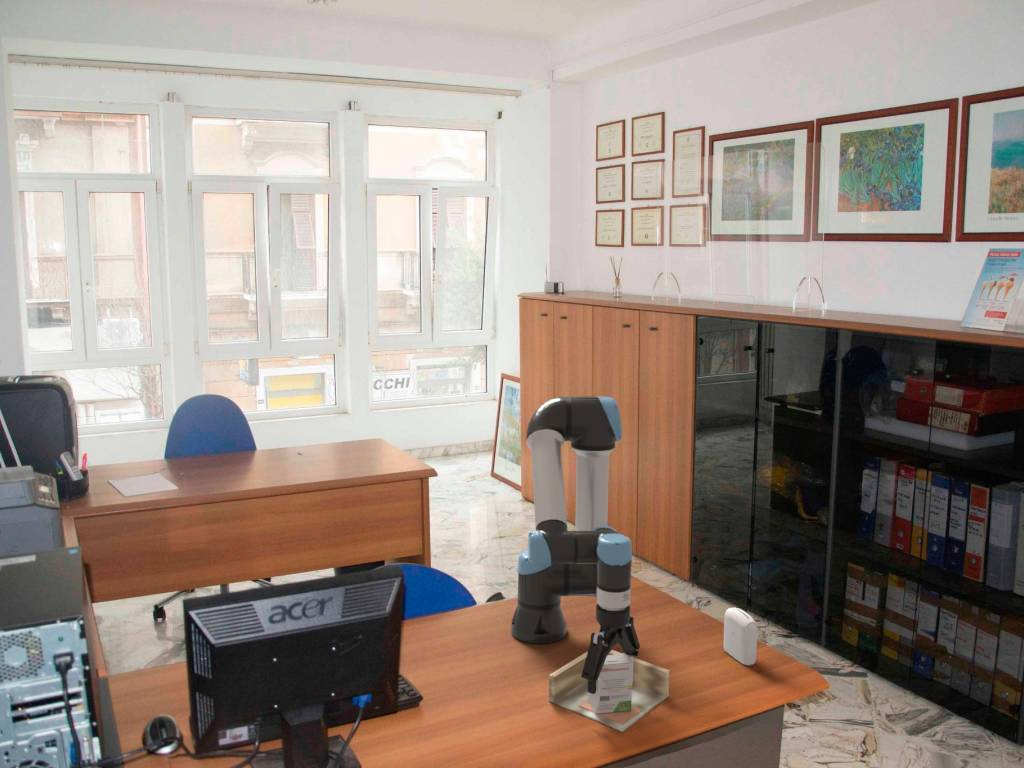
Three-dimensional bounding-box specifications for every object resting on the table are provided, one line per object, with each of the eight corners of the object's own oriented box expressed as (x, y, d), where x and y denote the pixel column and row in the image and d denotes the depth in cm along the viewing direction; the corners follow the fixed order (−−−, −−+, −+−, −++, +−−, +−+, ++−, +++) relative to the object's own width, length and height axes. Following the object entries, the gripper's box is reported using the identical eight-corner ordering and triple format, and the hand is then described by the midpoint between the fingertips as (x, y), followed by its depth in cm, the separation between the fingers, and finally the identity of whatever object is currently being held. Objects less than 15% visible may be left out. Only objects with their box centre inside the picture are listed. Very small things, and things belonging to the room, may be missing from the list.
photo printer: (720, 649, 228) (722, 604, 226) (734, 646, 229) (736, 602, 227) (743, 667, 218) (746, 620, 216) (758, 664, 220) (760, 618, 218)
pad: (578, 706, 199) (578, 705, 199) (598, 692, 205) (598, 691, 205) (623, 724, 191) (623, 723, 191) (642, 710, 197) (642, 709, 197)
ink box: (625, 700, 201) (627, 652, 199) (631, 711, 196) (633, 662, 194) (589, 703, 199) (590, 654, 198) (595, 714, 195) (596, 665, 193)
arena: (548, 700, 202) (549, 675, 200) (597, 669, 217) (598, 644, 216) (622, 732, 189) (623, 704, 188) (668, 695, 204) (669, 670, 203)
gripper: (595, 628, 182) (593, 721, 185) (656, 591, 201) (653, 677, 204) (566, 617, 187) (564, 709, 190) (628, 583, 206) (626, 667, 209)
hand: (610, 693), depth 197 cm, fingers open, 13 cm apart
